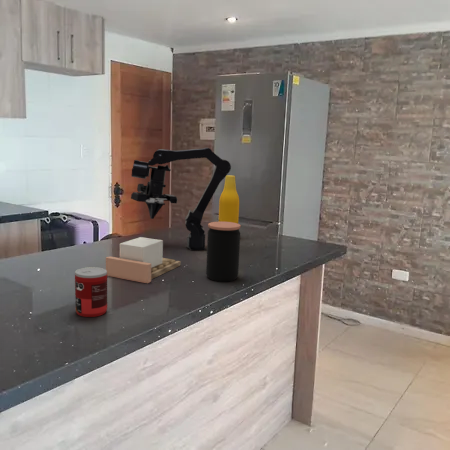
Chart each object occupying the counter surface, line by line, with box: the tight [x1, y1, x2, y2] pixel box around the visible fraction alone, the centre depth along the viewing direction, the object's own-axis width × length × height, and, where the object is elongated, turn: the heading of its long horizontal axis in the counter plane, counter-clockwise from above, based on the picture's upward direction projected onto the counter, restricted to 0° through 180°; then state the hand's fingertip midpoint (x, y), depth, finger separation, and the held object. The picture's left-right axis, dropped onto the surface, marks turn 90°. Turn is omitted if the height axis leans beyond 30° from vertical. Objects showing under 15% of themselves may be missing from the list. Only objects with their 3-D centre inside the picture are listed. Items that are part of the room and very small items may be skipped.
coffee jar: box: [205, 221, 242, 283], centre depth 153 cm, size 11×11×18 cm
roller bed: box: [151, 257, 182, 280], centre depth 159 cm, size 21×14×2 cm, turn 156°
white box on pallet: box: [119, 236, 164, 268], centre depth 154 cm, size 12×9×8 cm
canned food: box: [74, 266, 108, 318], centre depth 119 cm, size 8×8×11 cm
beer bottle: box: [218, 174, 240, 224], centre depth 211 cm, size 9×9×29 cm
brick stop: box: [105, 256, 152, 284], centre depth 148 cm, size 2×16×6 cm, turn 66°
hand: (151, 218), depth 188 cm, fingers closed
